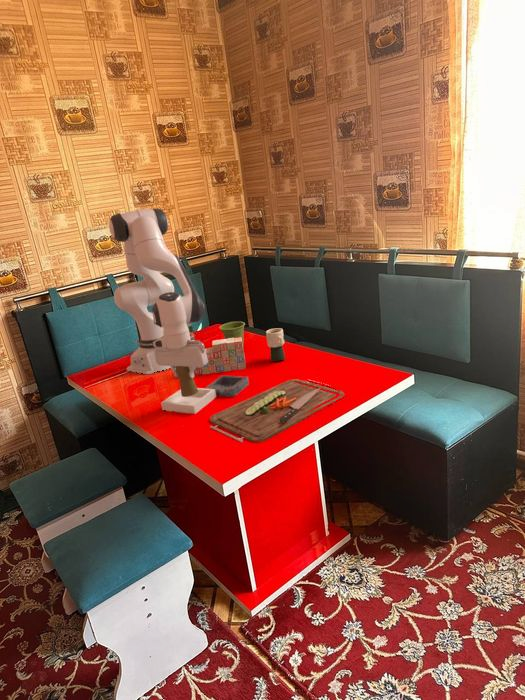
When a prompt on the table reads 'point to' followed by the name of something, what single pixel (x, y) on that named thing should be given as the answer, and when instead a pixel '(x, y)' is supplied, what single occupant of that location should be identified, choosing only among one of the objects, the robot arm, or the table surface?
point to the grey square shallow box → (228, 385)
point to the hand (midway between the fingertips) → (184, 377)
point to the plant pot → (233, 330)
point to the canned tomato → (191, 331)
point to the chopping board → (273, 410)
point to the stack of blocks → (224, 357)
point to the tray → (189, 401)
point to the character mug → (275, 343)
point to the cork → (186, 381)
